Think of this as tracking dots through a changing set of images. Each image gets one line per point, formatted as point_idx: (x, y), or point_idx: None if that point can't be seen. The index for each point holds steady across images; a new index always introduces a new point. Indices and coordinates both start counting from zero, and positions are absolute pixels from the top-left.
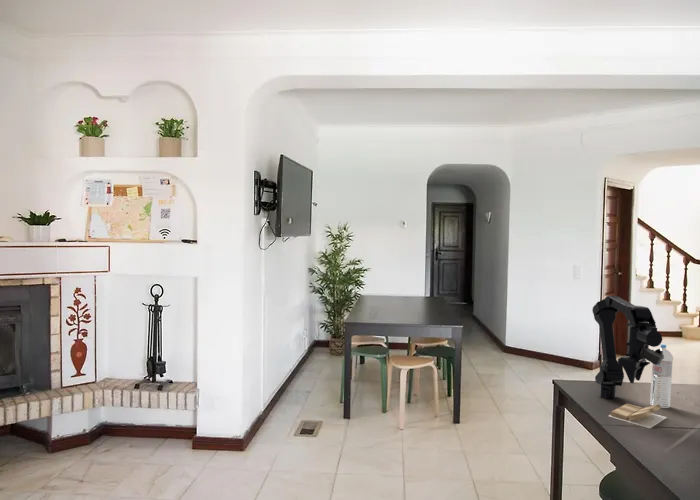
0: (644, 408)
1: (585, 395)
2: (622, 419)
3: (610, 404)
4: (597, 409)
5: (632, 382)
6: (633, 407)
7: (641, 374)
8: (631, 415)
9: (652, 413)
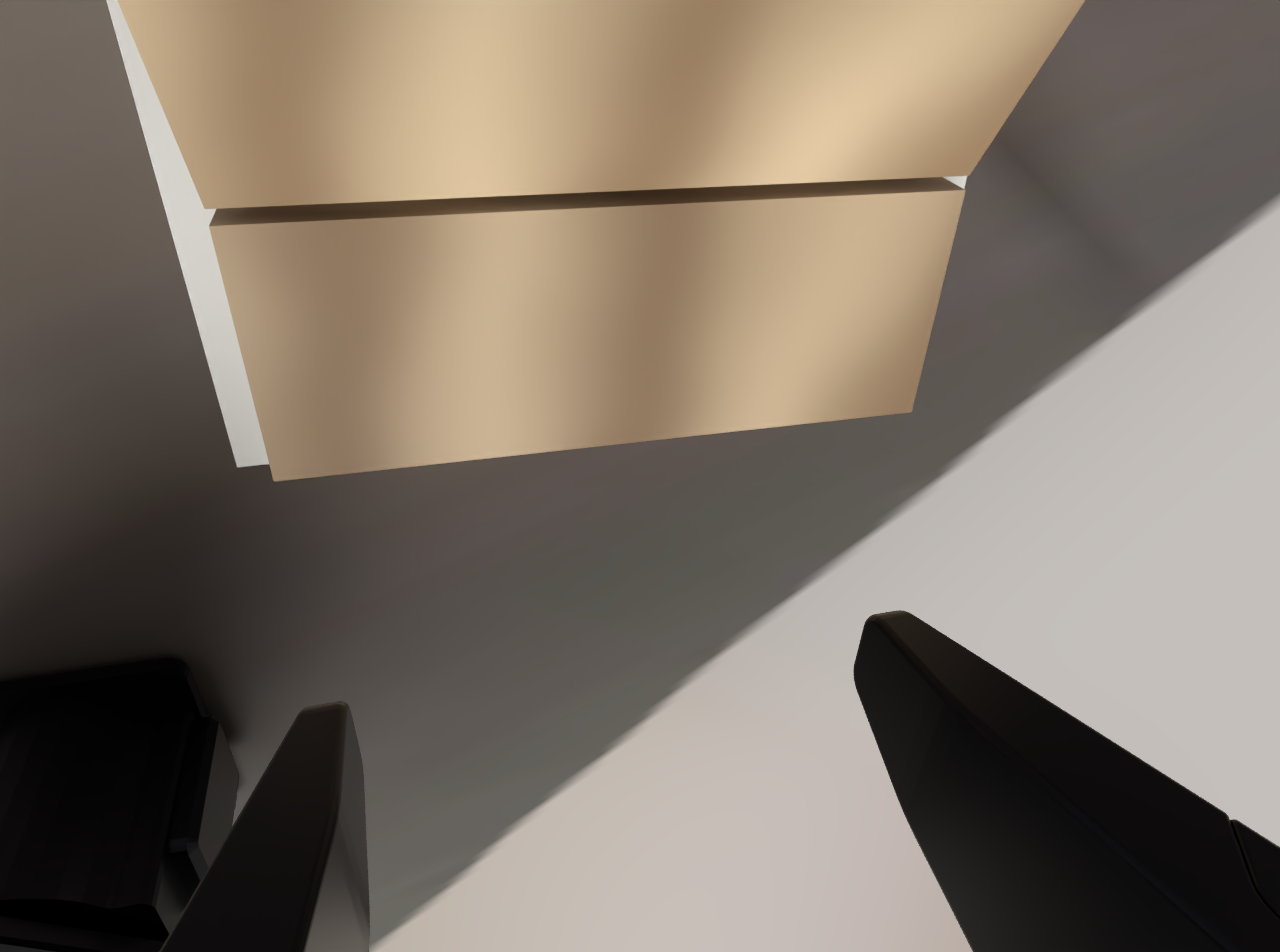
0: (371, 134)
1: None
2: None
3: (288, 625)
4: (650, 590)
5: (916, 638)
6: (391, 326)
7: (216, 935)
8: (971, 133)
9: (114, 9)
